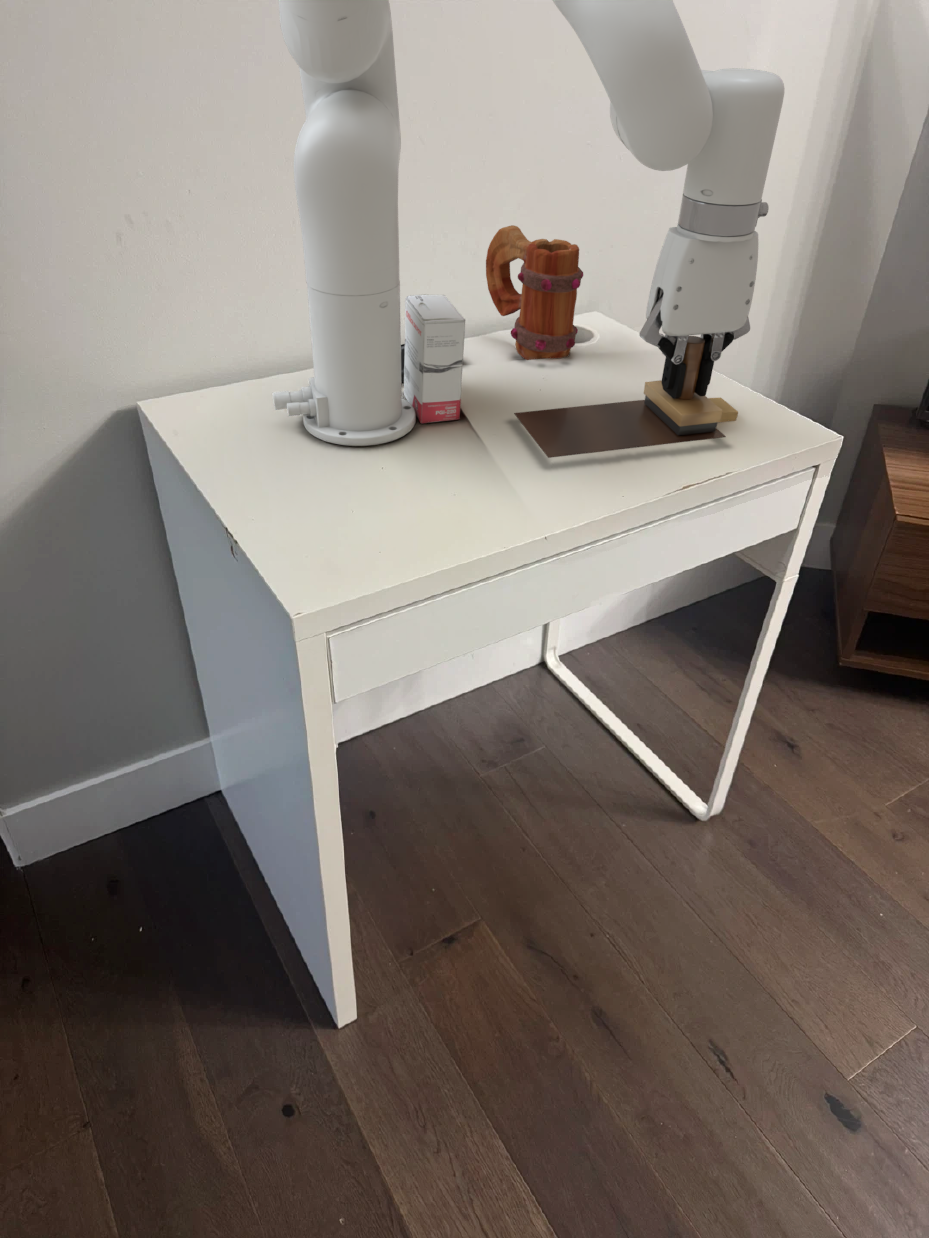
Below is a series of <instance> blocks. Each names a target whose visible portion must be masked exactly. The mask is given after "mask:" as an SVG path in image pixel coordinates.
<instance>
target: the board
mask: <svg viewBox="0 0 929 1238" xmlns="http://www.w3.org/2000/svg"><path fill="white" fill-rule="evenodd" d="M644 401H645V399H637V400H628V401H617V402H609V403H600V404H599V403H597V404H589V405H580V406H567V407H559V408H551V409H550V408H549V409H541V410H530V411H521V412H514V415H515V417H516V418H517V419H518V421H519V422H520V423H521V424H522V426H523V428H525V430H526V431H527V432H528V434H529V435H530V436H531V438H532V439H533V440H534V441H535V443H536V444H537V445H538V447H539V448H540V449H541V451H542V452H543V454H544V455H545V456H546V457H547V458H548V459H550V458H560V457H566V456H575V455H576V456H577V455H584V454H593V453H601V452H609V451H620V450H628V449H636V448H637V449H638V448H644V447H653V446H662V445H671V444H678V443H679V444H680V443H688V442H697V441H705V440H711V439H721V438H727V436H726V435H725V434H724V433H723V432H722V431H721V430H719V429H718V428H717V427H716V431H715V432H706V433H697V434H689V435H680V436H678V435H677V434H676V433H675V432H674V431H673V430H672V429H671V428H670V427H669V426H668V425H667V424H665V423H664V422H663V421H662V420H661V419H660V418H659V417H658V416H657V415H656V414H655V413H654V412H653V411H652V410H651V409H650V408H649V407H647V406H646V405H645V404H644Z"/></svg>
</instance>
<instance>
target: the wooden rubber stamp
mask: <svg viewBox="0 0 929 1238" xmlns="http://www.w3.org/2000/svg"><path fill="white" fill-rule="evenodd" d="M704 344H705V340H704V339H703V338H701V336H698V335H689V337H688V341H687V345H686V350H685V354H684V358H683V363H685V364H686V373H685V378H684V383H683V388H682V393H681V397H680V398H679V399H673V398H672V397H671V396H670V395H669V394H668V393H666V392H665V391H664V390H663V386H662V379H661V380H653V381H652V380H651V381H645V382H644V387H643V394H644V395H645V396H644V400H645V401H644V404H645V405H646V406H647V407H649V408H650V409H651V410H652V411H653V412H654V413H655V414H656V415H657V416H658V417H659V418H660V419H661V420H662V421H663V422H664V423H665V424H667V425H668V426H669V427H670V428H671V429H672V430H673V431H674V432H675V433H676V434H677V435H678V436H680V435H689V434H697V433H706V432H715V431H716V428H717V425H718V423H721V422H720V420H721V416H722V411H723V410H721V409H720V408H719V407H718V406H717V405H715V404H714V403H713V402H712V401H711V400H709V399H708V398H709V397H707V396H706V395H705V396H699V395H697V394H696V393H695V389H696V384H697V379H698V374H699V369H700V364H701V359H702V354H703V349H704Z"/></svg>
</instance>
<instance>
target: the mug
mask: <svg viewBox="0 0 929 1238" xmlns="http://www.w3.org/2000/svg"><path fill="white" fill-rule="evenodd" d="M486 252H487V253H486V258H485V278H486V284H487V289H488V292H489V295H490V298H491V300H492V303H493V304H494V306H495V308H496V310H497V312H498V313H499V314H500V316H501V317H505V316H510V315H512V314H514V313H517V312H518V311H519V315H518V317H517V318H516V320H515V322H514V326H513V328H512V329H511V330H510V335H511V337H512V338H513V340H515V342H514V343H515V344H514V346H515V350H516V352H517V354H518V355H520V356H521V357H522V358H523V359H524V360H526V361H533V360H544V359H561V358H568V357H569V356H570V353H571V349H572V348H574V347H575V345H576V336H577V334H578V330H579V329H578V327H577V326H575V325H574V319H575V310H576V303H577V297H578V289H579V288H580V287H581V284H582V283H581V282H582V279H583V277H584V271H583V270H582V269H581V268H580V267H579V261H580V246H578V244H575V243H574V244H572V243H571V242H569V241H568V240H565V239H558V238H554V239H552V240H551V241H550V240H548V239H546V238H539V239H535V240H533V241H531V240H529V239H528V238H527V237H526V236H525V235H524V233H523V232H522V230H521V228H520V227H519V226H518V225H508V226H504V227H502V228H499V229H498V231H496V232H495V234H494V236H493V237H492V239H491V241H490V242H489V246H488V248H487V251H486ZM517 259H518V260H522V261H523V262H522V265H521V266H520V272H519V273H518V274H517V279H518V280H519V281H520V282H521V284H522V287H521V293H519V292H518V290H516V288H515V286H514V283H513V281H512V278H511V262H512V263H513V262H514V261H515V260H517Z"/></svg>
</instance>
